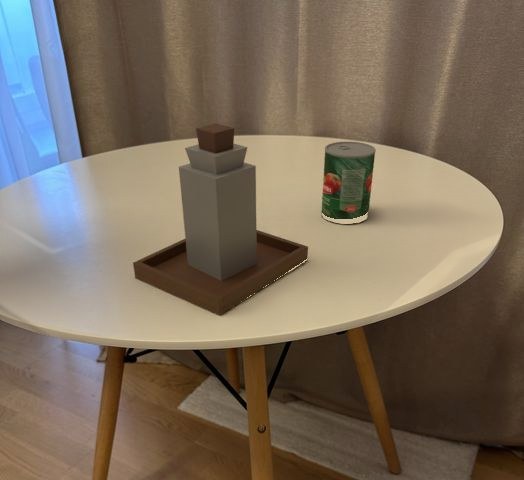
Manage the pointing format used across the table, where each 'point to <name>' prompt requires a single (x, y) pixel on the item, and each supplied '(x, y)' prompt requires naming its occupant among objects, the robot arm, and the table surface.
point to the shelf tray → (209, 288)
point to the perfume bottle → (219, 204)
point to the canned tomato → (347, 179)
